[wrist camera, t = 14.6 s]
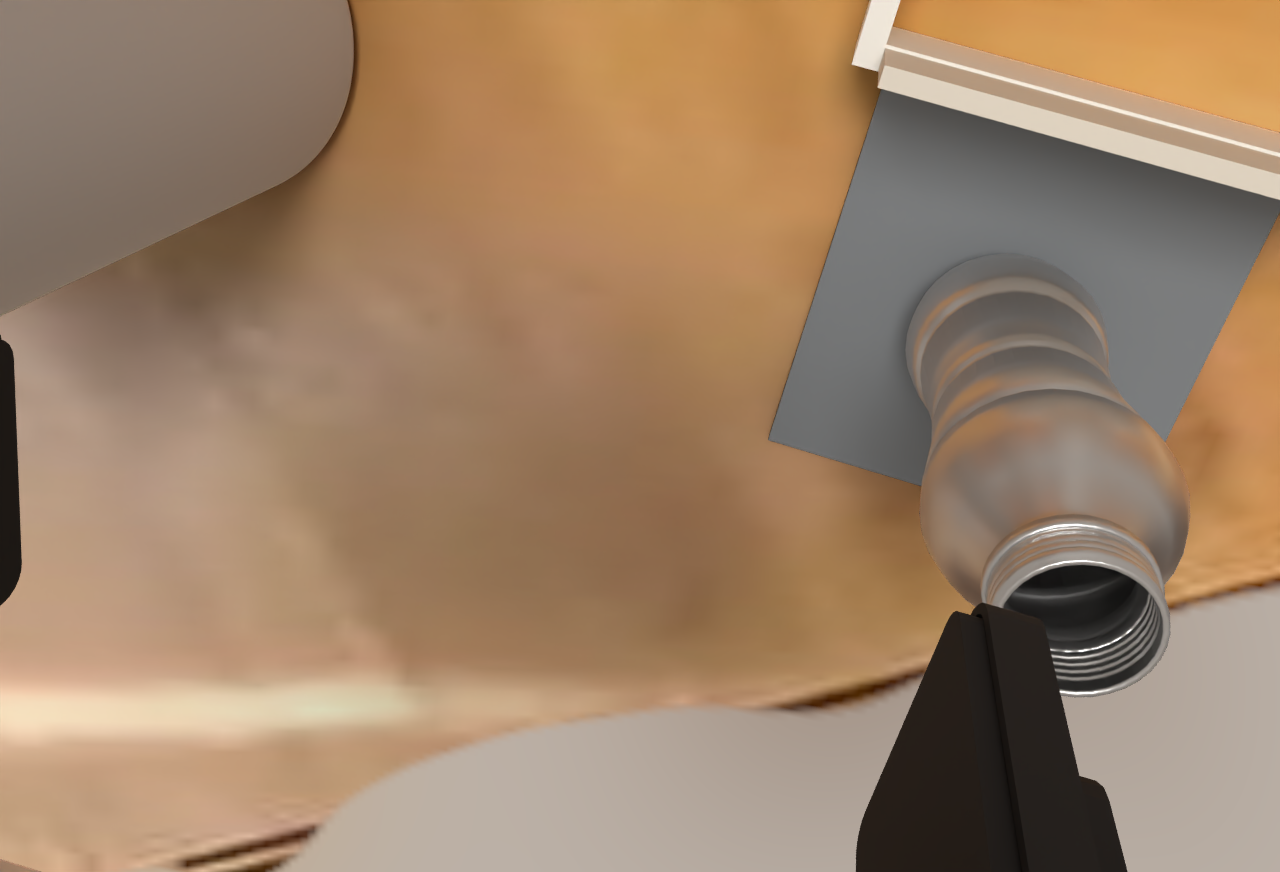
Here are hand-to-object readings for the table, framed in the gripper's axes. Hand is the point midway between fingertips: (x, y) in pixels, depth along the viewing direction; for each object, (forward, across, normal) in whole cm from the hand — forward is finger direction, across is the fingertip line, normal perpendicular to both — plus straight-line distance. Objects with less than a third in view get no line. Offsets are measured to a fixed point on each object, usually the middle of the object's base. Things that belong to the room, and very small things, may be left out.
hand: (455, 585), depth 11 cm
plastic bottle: (+33, -11, +7) cm, 36 cm away
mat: (+34, -12, +7) cm, 36 cm away
